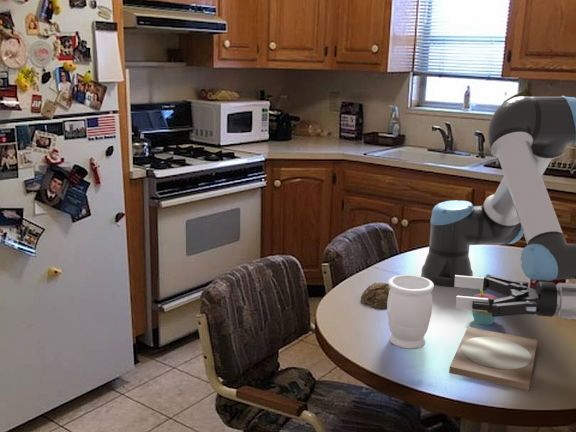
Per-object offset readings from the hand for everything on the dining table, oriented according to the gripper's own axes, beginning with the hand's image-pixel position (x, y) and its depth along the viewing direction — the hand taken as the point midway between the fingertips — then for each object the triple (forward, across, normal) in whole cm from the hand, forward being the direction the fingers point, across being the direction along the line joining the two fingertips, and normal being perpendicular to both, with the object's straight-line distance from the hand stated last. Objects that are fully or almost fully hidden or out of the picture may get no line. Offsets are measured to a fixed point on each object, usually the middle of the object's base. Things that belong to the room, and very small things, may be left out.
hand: (455, 290), depth 140 cm
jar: (+10, +1, -14) cm, 17 cm away
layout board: (-10, -3, -14) cm, 17 cm away
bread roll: (+18, +24, -14) cm, 33 cm away
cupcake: (-9, +18, -14) cm, 24 cm away
